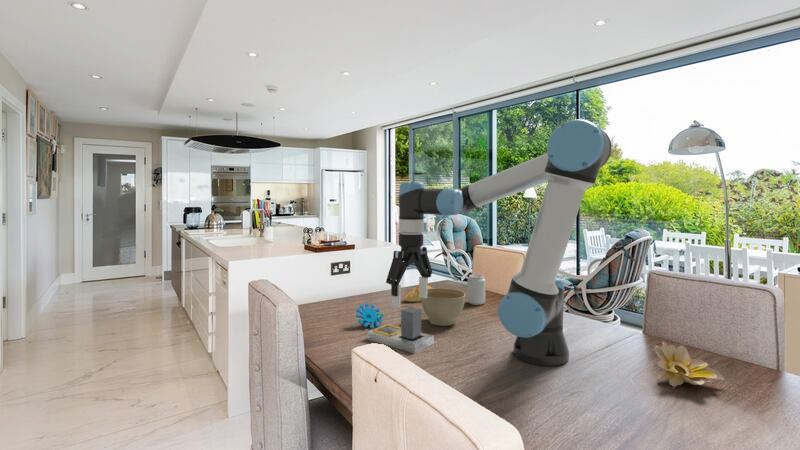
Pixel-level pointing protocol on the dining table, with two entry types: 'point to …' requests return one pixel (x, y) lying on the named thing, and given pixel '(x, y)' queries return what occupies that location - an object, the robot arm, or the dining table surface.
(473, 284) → the can
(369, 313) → the gear
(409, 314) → the peg
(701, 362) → the decorative flower
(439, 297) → the planter bowl
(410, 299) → the croissant
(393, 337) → the grey slotted holder
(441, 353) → the dining table surface
